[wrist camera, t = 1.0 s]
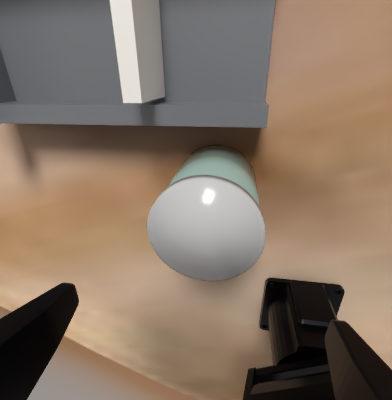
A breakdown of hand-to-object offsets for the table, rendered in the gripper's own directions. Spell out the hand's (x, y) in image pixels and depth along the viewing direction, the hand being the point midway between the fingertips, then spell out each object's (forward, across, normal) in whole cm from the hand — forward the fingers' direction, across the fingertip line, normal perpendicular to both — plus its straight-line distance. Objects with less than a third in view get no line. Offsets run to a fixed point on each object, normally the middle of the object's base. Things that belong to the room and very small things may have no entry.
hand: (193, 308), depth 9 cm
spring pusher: (+11, +4, -10) cm, 16 cm away
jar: (+12, 0, 0) cm, 12 cm away
